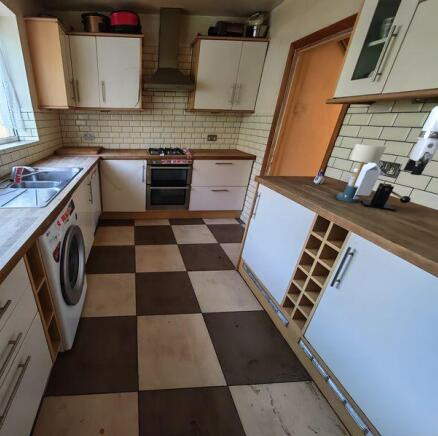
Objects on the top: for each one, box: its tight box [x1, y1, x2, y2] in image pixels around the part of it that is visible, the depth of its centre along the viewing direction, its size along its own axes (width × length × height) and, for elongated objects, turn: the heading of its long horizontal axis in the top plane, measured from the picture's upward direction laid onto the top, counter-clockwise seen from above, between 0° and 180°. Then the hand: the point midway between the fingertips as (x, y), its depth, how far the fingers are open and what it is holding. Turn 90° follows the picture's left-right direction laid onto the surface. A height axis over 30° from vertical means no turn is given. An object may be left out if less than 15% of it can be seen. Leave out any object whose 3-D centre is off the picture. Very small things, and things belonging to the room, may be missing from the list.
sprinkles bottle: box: [347, 167, 359, 185], centre depth 144 cm, size 5×5×13 cm
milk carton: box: [355, 162, 381, 197], centre depth 135 cm, size 7×7×19 cm
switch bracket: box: [359, 182, 396, 212], centre depth 118 cm, size 12×9×12 cm
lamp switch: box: [380, 183, 412, 204], centre depth 115 cm, size 13×4×4 cm, turn 59°
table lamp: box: [335, 142, 387, 203], centre depth 123 cm, size 12×12×30 cm
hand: (411, 172), depth 111 cm, fingers open, 9 cm apart
